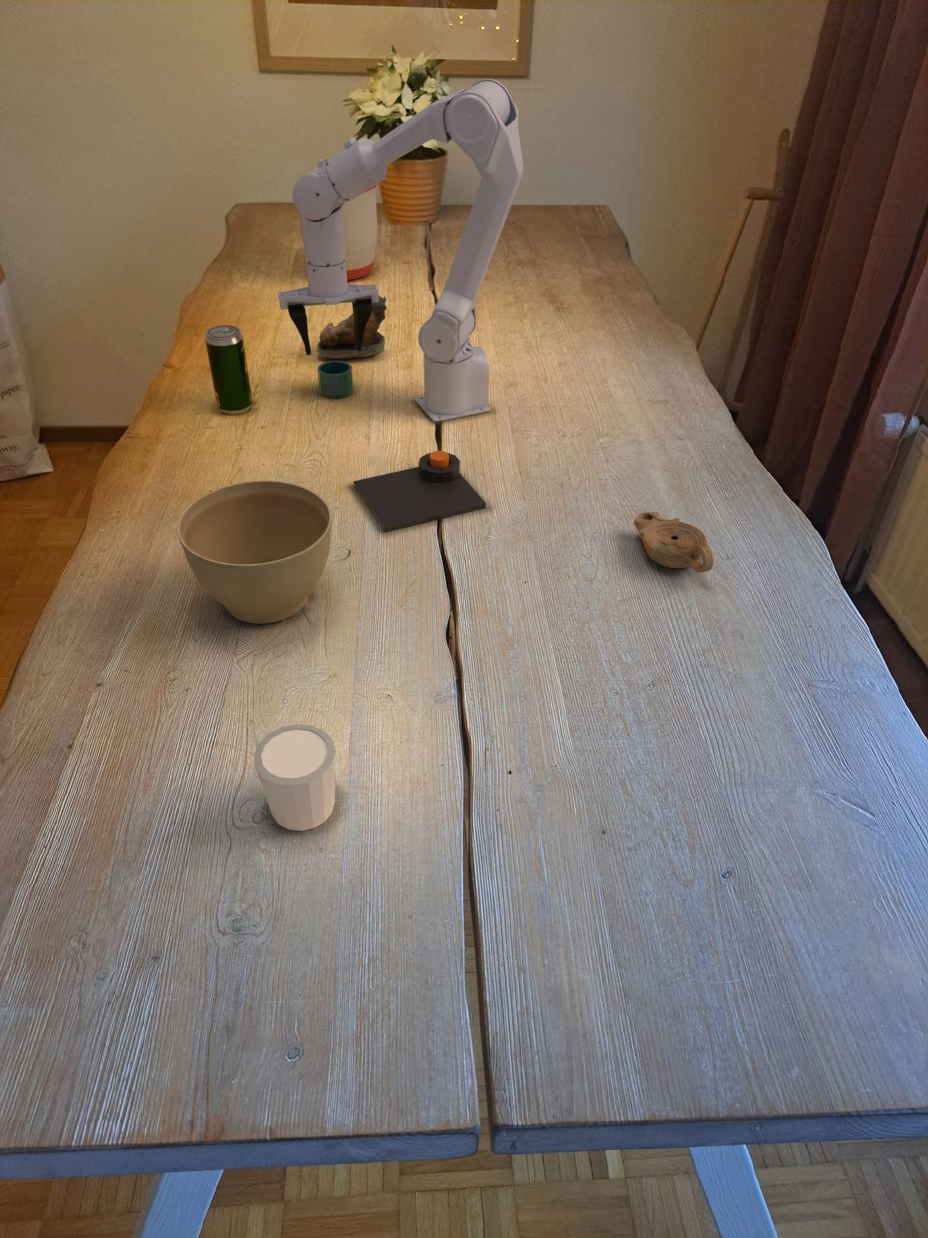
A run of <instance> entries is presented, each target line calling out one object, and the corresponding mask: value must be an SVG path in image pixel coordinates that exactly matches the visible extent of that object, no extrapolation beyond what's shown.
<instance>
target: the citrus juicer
mask: <svg viewBox="0 0 928 1238" xmlns="http://www.w3.org/2000/svg"><path fill="white" fill-rule="evenodd" d="M377 185H378V184H377ZM377 185H375V186H373V187H372V188H370V189H369V190H367V191H365V192H364V193H362V194H361V195H359V196H357V197H356V198H354V199H352V200H351V201H349V202H346V203H344V205H343V206H342V219H343V230H344V244H345V259H346V272H347V282H348V281H349V280H355V279H361V278H362V277H365V276H367V275H369V274H370V272H371V271H372V268H373V266H374V262H375V257H376V252H377V245H378V244H377V243H378V214H377V212H378V211H377V194H376V192H377V191H376V187H377ZM298 213H299V212H298ZM299 223H300V232H301V238H302V239H301V240H302V244H304V238H303V226H302V216H301V214H300V213H299Z"/></svg>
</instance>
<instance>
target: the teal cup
mask: <svg viewBox="0 0 928 1238" xmlns="http://www.w3.org/2000/svg"><path fill="white" fill-rule="evenodd" d="M316 369H317V370H316V371H317V379H318V390H319V392H320V393H321V394H322V395H323V396H325V397H327V398H330V399H341V398H345V397H348V396H349V395H351V394H352V392H353V391H354V372H353V366H352V365H351V363H350V362H346V361H343V360H329V361H326V362H323V363H321V364H319V365H318V366H317V368H316Z"/></svg>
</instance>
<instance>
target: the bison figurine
mask: <svg viewBox="0 0 928 1238" xmlns="http://www.w3.org/2000/svg"><path fill="white" fill-rule="evenodd" d="M378 300H379V302H371V304H372V307H373V310H372V314H371V316H370V318H369V320H368V322H367V325H366V328H365V331H364V335H363V339H362V346H361V350H360V351H357V350H356V347H355V342H354V316H353V313H351V314H350V315H349V316H348V317H347V318H346V319H343V320H341V321H340V322H339V323H338V324H337V325H335V326H334V323H333V322H332V321H330V322H328V323H327V325H325V327H324V328H323V330H322V331H321V332H320V334H319V338H318V339H319V341H318V342H317V344H316V350H317V352H318V354H319V356H321V357H324V358H330V359H355V358H365V357H369V356H374V355H379V354H382V353H383V352H384V349H385V345H386V339H385V336H384V335H383V334H381V333H380V332H379V331H378V330H379V329H380V326H381V323H383V321H384V320H385V319H386V310H388V308H387V305H386V302H387V296H386V294H384V295H383V297H382V296H381V295H379V294H378Z"/></svg>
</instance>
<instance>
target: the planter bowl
mask: <svg viewBox="0 0 928 1238" xmlns="http://www.w3.org/2000/svg"><path fill="white" fill-rule="evenodd" d="M332 519H333V517H332V512H331V508H330V506H329V505H328V503H327V502H326V501H325V500H324V499H323V498H322V497H321V496H320V495H319V494H318V493H316V492H314V491H313V490H311V489H309V488H308V487H305V486H303V485H299V484H296V483H294V482H293V483H292V482H287V481H280V480H266V479H265V480H263V479H262V480H249V481H243V482H236V483H232V484H229V485H224V486H222V487H219V488H216V489H213V490H211V491H209V492H207V493H205V494H203V495H201V496H200V497H198V498H196V499H195V500H194V501H192V502H191V503H190V504H189V505H188V506H187V507H186V508H185V509H184V511H183V512H182V513H181V515H180V516H179V519H178V521H177V526H176V528H177V529H176V530H177V531H176V532H177V537H178V540H179V543H180V545H181V547H182V549H183V551H184V554H185V557H186V560H187V564H188V565H189V567H190V569H191V573H192V574H193V575H194V577H195V578H196V580H197V582H198V583H199V584H200V586H201V587H202V588H203V589H204V590H205V591H206V592H207V593H208V594H209V595H210V596H211V597H212V598H213V599H215V601H217V602H218V603H220V605H223V606H224V608H225V610H226V611H227V612H228V613H229V614H230V615H231V616H232V617H234V618H235V619H237V620H240V621H242V622H245V623H250V624H271V623H276V622H280V621H284V620H286V619H289V618H291V617H293V616H294V615H296V614H297V613H298V612H300V611H301V610H302V609H303V608H304V607H305V605H306V604H307V602H308V599H309V596H310V594H311V593H312V591H313V590H314V589H315V587H316V586H317V584H318V583H319V581H320V579H321V577H322V575H323V573H324V571H325V568H326V565H327V561H328V558H329V555H330V548H331V531H332V521H333V520H332Z"/></svg>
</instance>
